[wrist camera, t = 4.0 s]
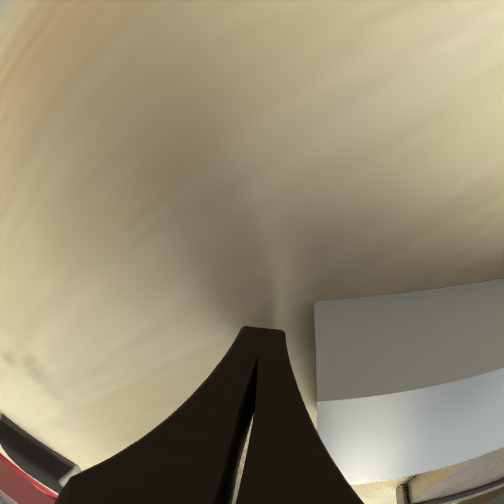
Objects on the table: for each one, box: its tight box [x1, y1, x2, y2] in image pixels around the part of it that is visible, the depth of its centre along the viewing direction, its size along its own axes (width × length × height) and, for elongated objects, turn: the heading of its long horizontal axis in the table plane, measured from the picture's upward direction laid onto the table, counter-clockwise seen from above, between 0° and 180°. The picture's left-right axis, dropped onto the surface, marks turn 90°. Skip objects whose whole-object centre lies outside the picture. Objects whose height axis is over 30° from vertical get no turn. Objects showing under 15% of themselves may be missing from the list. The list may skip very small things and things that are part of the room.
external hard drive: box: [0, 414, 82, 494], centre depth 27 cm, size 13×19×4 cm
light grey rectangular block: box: [314, 278, 504, 485], centre depth 8 cm, size 6×10×4 cm, turn 99°
